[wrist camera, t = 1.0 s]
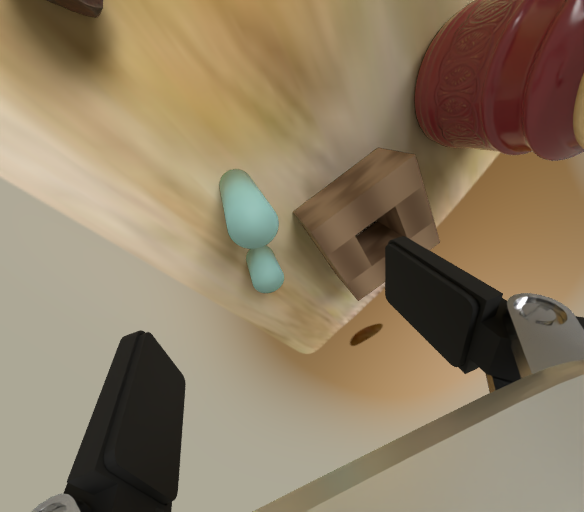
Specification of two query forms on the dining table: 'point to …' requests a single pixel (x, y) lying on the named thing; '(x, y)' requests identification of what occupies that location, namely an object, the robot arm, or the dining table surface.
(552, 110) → the canister
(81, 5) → the bolt
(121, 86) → the dining table surface
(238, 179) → the tall dowel
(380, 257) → the socket block
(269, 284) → the short dowel
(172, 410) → the robot arm
